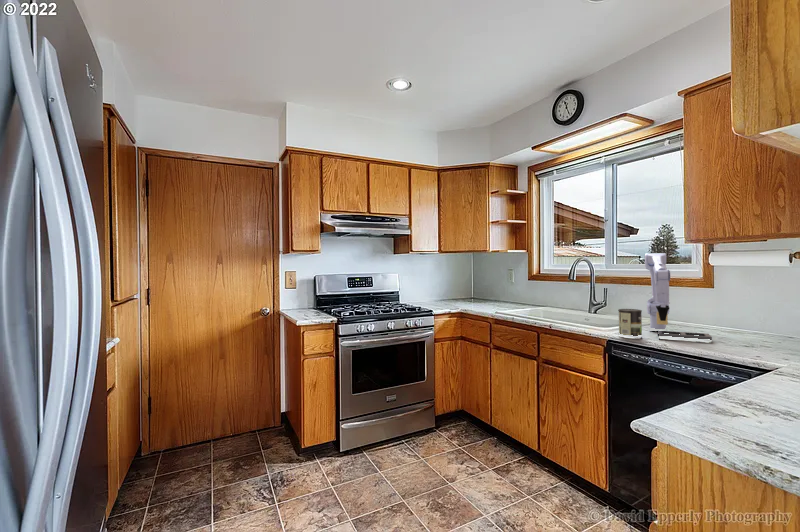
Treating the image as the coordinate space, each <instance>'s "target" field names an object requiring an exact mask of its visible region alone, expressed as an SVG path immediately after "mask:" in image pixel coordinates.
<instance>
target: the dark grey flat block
mask: <svg viewBox="0 0 800 532" xmlns="http://www.w3.org/2000/svg"><path fill="white" fill-rule="evenodd" d="M664 333H669V334H664ZM658 334H659V336H672V337H684V338H698V339H710V340H712V341H713V336H712V335H711V334H709V333H703V332H689V331H688V332H686V331H673V330H672V331H671V330H667V331H658V332H657V335H658ZM679 334H680V335H679ZM694 335H699V336H694Z"/></svg>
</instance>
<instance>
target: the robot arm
mask: <svg viewBox="0 0 800 532" xmlns="http://www.w3.org/2000/svg"><path fill="white" fill-rule="evenodd" d="M666 264H667V254H666V253H665V252H661V253H657V252H653V253H651V252H649V253H647V252H646V253H645V254H644V267H645V269H646V270H648V272H649V274H650V283H651V294H652V295H651V297H650V298H648V299H647V301H646V313H647V314H648V315H649V321H650V322H649V324H650V325H649V328H655V329H665V328H666V329H667V325H663V324H657V313H656V312H659V317H660V321H665V320H666V316H667V314H668V315H669V314H670V304H671V302H670V281H671V270H669V269H667V266H666Z"/></svg>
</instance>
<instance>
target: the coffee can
mask: <svg viewBox="0 0 800 532" xmlns="http://www.w3.org/2000/svg"><path fill="white" fill-rule="evenodd" d="M642 311H643V310H641V309H638V308H637V309H636V308H618V334H619V333H620V334H623V335H633V336H638V335H642V336H643V332H642V330H643V328H642V327H643V326H642V321H643V320H642V318H643V317H642Z"/></svg>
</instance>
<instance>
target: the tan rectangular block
mask: <svg viewBox="0 0 800 532" xmlns="http://www.w3.org/2000/svg"><path fill="white" fill-rule="evenodd" d="M656 313H657V324H663V325H666V326H668V325H669V324H668V323H669V322H668V318H669V317H668V316H669V314H667V316H666V320H665V321H660V317H659V312H656Z"/></svg>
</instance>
